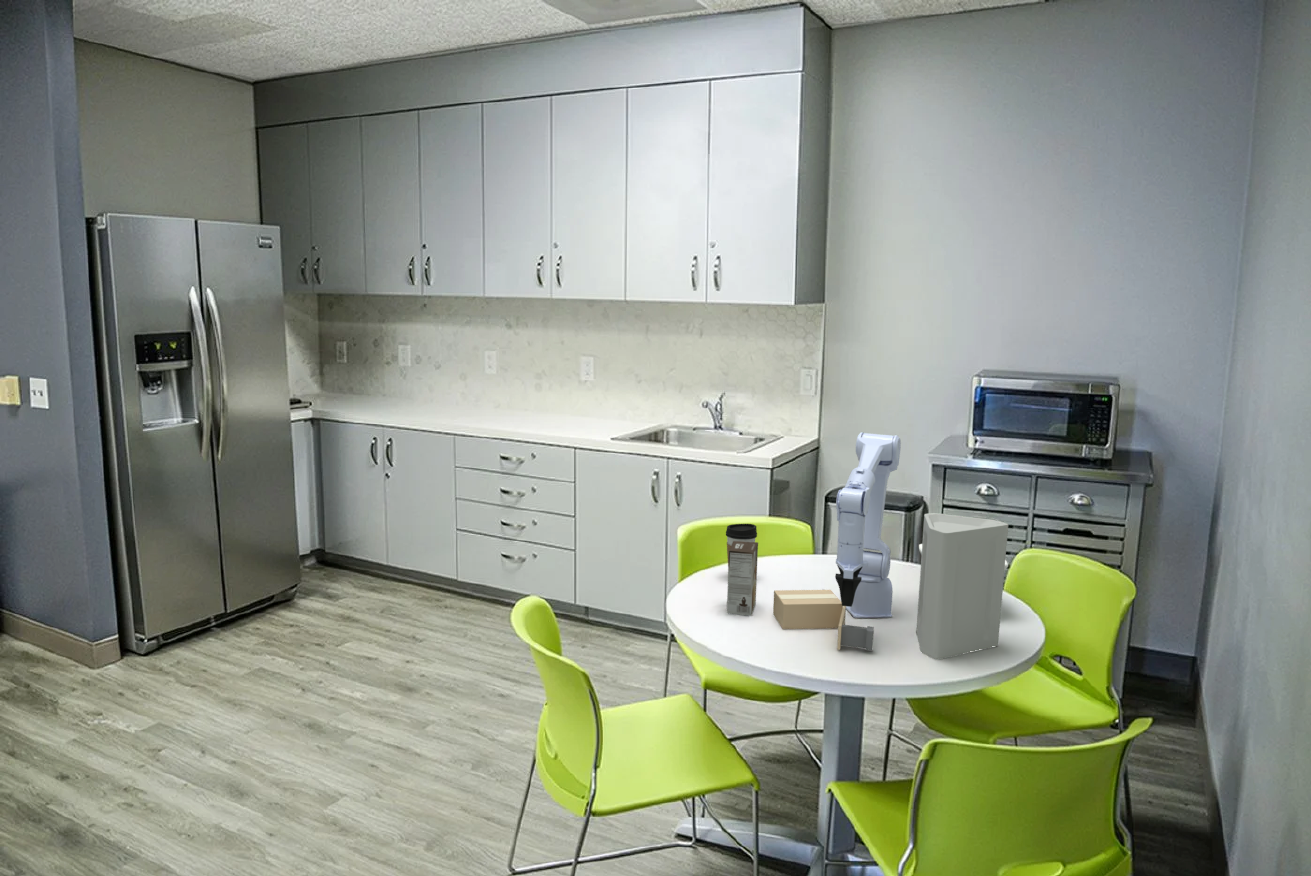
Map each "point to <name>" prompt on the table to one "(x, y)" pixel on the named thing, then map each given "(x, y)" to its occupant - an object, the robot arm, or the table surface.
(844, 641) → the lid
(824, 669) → the table surface
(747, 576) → the coffee box
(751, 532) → the coffee cup
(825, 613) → the carton
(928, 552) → the grey triangular prism
